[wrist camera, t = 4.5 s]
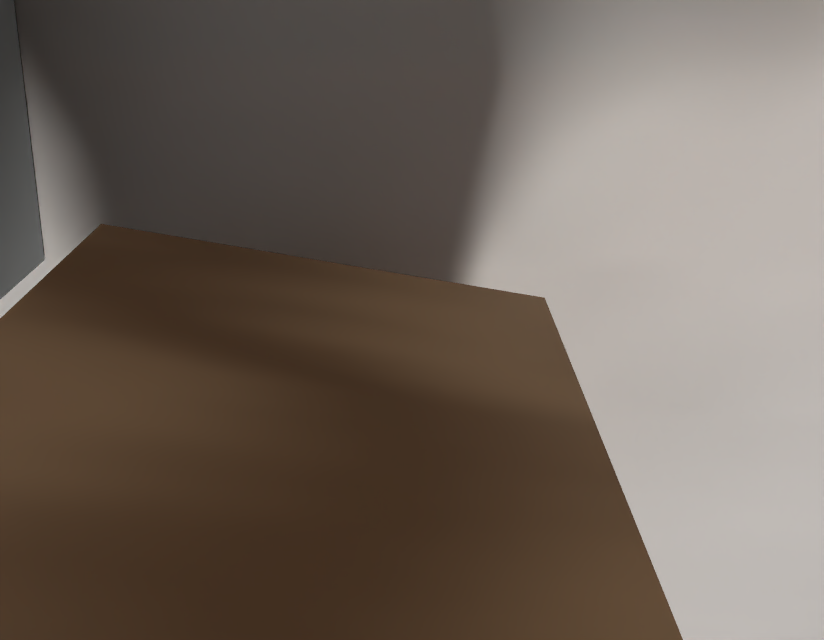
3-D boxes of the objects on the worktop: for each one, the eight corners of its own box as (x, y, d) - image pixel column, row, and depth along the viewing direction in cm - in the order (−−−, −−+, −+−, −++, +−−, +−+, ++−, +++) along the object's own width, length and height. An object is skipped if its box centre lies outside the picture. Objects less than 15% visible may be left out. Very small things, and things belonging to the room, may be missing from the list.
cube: (120, 534, 11) (-118, 1039, 6) (101, 224, 8) (-413, 705, 3) (449, 572, 12) (487, 1055, 7) (544, 297, 9) (745, 795, 4)
